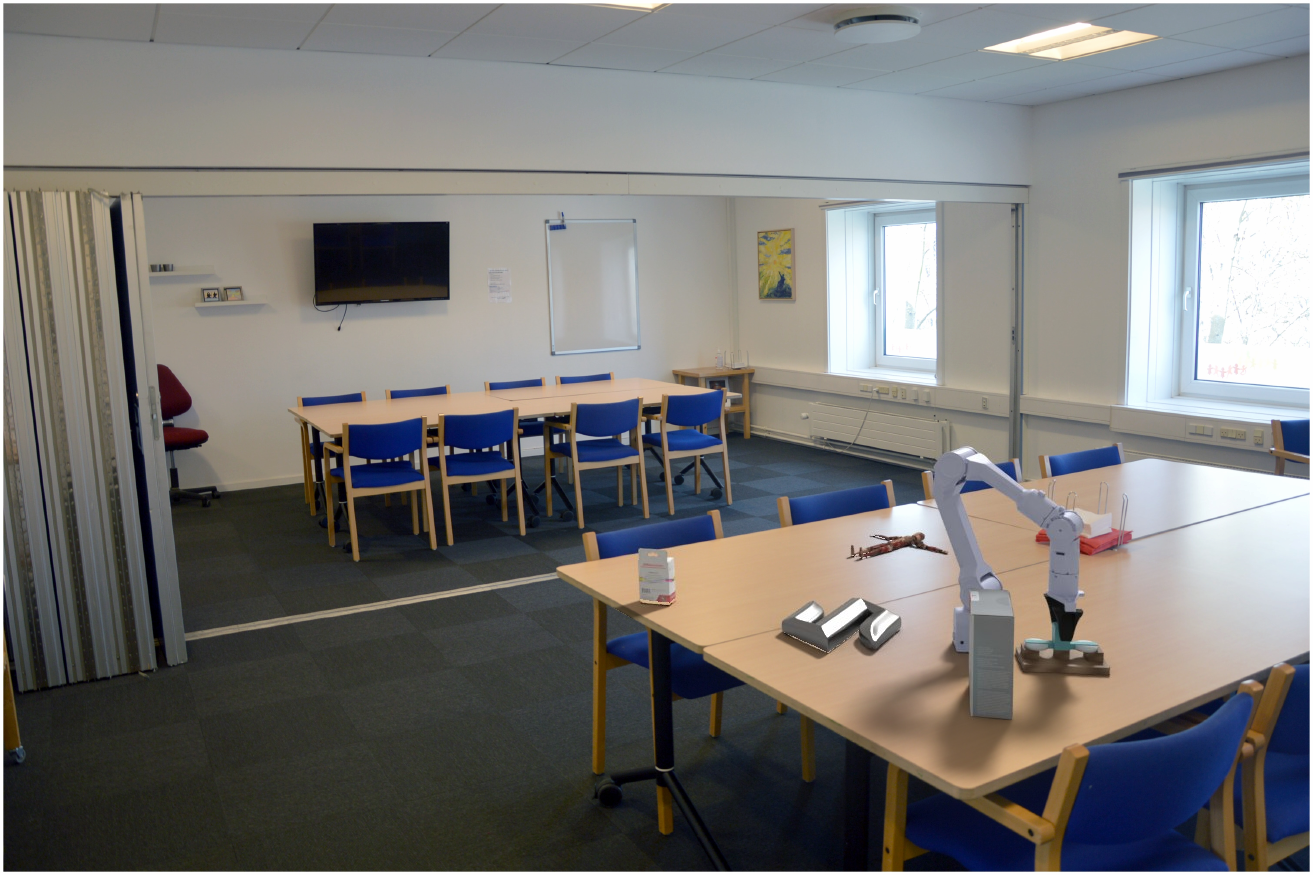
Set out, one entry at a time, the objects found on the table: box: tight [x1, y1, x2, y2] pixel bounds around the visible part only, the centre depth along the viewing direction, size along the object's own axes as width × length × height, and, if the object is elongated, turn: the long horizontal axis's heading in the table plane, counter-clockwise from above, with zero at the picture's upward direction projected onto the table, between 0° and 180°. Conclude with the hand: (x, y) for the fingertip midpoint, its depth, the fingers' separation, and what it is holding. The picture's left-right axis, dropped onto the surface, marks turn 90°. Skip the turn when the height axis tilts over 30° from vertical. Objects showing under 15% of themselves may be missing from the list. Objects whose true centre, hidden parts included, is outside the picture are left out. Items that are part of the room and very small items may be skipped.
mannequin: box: [850, 531, 949, 558], centre depth 297 cm, size 26×29×4 cm
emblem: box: [781, 597, 902, 652], centre depth 223 cm, size 28×5×28 cm
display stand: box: [1015, 642, 1111, 676], centre depth 199 cm, size 16×10×4 cm, turn 79°
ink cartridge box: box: [637, 547, 677, 603], centre depth 248 cm, size 9×5×15 cm, turn 68°
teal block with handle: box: [1024, 622, 1099, 653], centre depth 199 cm, size 14×5×5 cm, turn 79°
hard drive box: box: [968, 588, 1015, 720], centre depth 181 cm, size 16×8×20 cm, turn 163°
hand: (1061, 634), depth 199 cm, fingers open, 7 cm apart
